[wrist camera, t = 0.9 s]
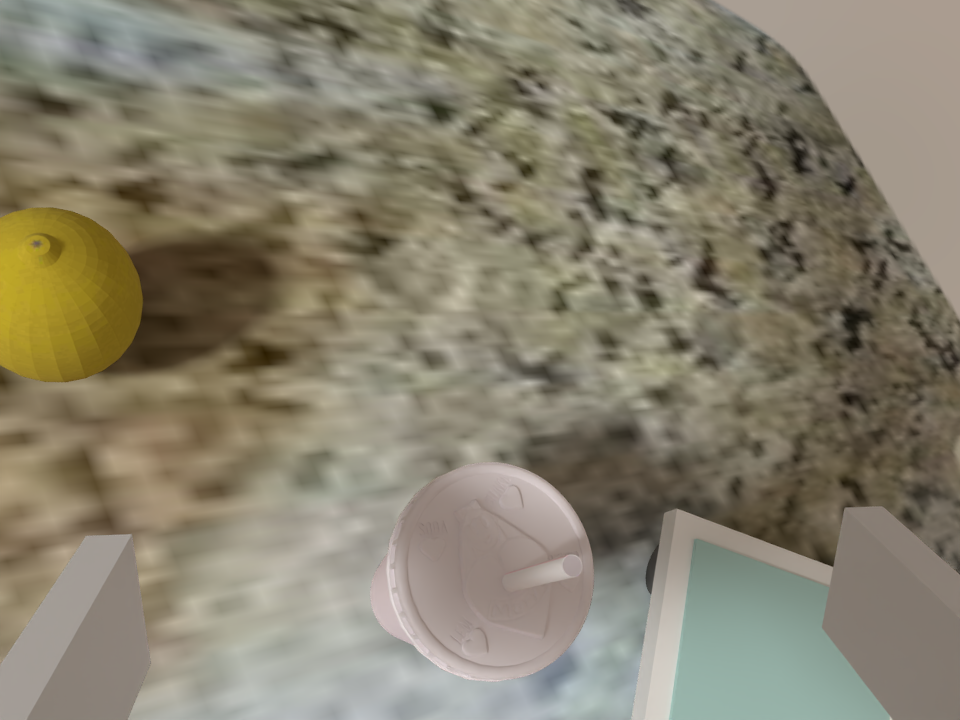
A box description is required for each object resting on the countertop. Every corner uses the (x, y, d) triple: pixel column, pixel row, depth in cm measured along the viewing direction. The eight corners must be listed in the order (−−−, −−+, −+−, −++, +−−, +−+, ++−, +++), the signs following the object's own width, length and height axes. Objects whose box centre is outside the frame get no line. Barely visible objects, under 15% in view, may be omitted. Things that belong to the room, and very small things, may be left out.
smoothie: (387, 713, 30) (528, 744, 18) (305, 563, 31) (386, 494, 19) (518, 620, 33) (717, 591, 21) (440, 485, 34) (587, 381, 22)
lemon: (135, 268, 33) (122, 159, 26) (156, 395, 32) (149, 317, 25) (-20, 283, 31) (-80, 169, 24) (-4, 420, 29) (-63, 342, 22)
